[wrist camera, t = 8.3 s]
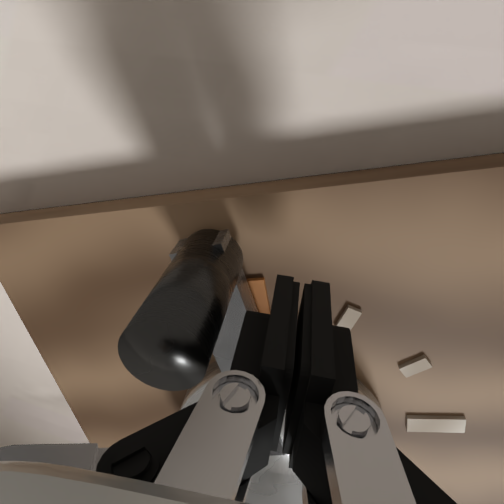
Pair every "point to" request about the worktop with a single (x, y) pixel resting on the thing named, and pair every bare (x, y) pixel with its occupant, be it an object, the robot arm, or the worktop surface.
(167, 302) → the dial
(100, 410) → the board
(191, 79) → the worktop surface
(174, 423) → the robot arm
